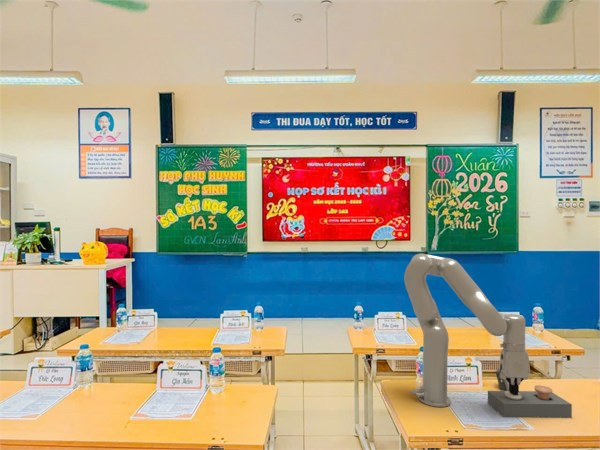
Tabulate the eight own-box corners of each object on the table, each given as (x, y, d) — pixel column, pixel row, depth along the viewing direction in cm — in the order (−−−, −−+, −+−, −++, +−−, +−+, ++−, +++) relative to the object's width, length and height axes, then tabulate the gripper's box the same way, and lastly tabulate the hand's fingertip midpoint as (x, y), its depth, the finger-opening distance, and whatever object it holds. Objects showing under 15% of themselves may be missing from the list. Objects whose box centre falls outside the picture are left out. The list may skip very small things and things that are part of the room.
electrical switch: (509, 392, 172) (507, 370, 173) (496, 390, 175) (494, 369, 176) (513, 386, 179) (511, 365, 180) (501, 384, 182) (499, 364, 183)
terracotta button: (540, 404, 152) (540, 391, 152) (531, 397, 158) (531, 385, 158) (555, 404, 152) (556, 391, 152) (545, 398, 158) (545, 385, 158)
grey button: (509, 410, 152) (509, 397, 152) (501, 403, 158) (501, 390, 158) (525, 410, 152) (525, 397, 152) (516, 403, 158) (516, 390, 158)
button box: (503, 417, 149) (503, 403, 149) (487, 403, 161) (487, 390, 161) (571, 417, 149) (571, 404, 149) (550, 403, 161) (550, 391, 161)
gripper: (500, 349, 151) (500, 398, 151) (538, 349, 152) (538, 398, 151) (490, 344, 159) (490, 390, 158) (527, 344, 159) (526, 390, 159)
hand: (513, 393), depth 155 cm, fingers closed
